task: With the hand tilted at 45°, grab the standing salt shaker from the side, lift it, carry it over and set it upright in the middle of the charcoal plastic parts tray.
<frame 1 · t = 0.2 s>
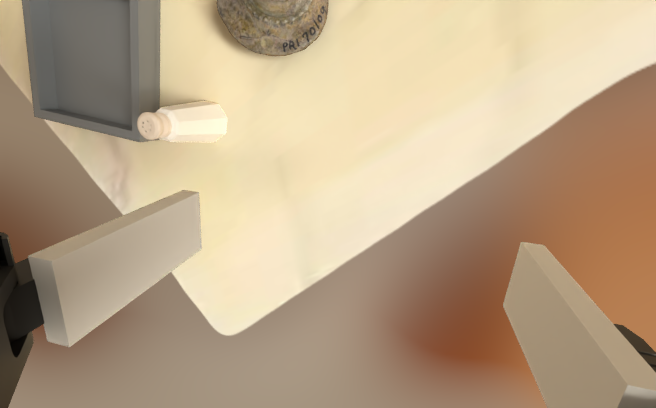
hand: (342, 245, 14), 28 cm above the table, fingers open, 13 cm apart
parts tray: (104, 61, 47), on the table
salt shaker: (211, 121, 45), on the table
fossilized seashell: (280, 10, 39), on the table
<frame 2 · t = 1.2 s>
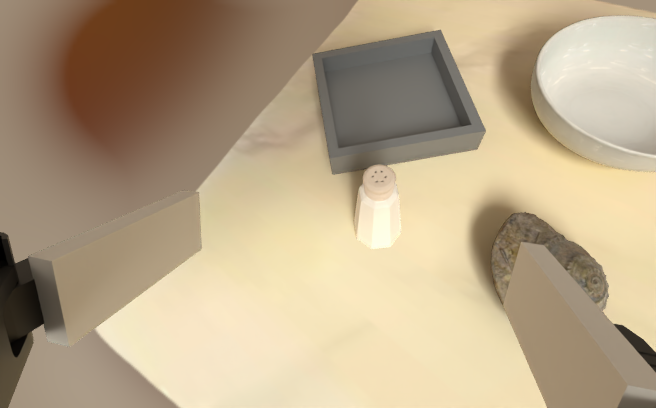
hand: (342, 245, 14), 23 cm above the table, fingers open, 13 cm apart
parts tray: (388, 107, 46), on the table
salt shaker: (377, 228, 39), on the table
fossilized seashell: (532, 278, 35), on the table
serving bowl: (604, 121, 42), on the table
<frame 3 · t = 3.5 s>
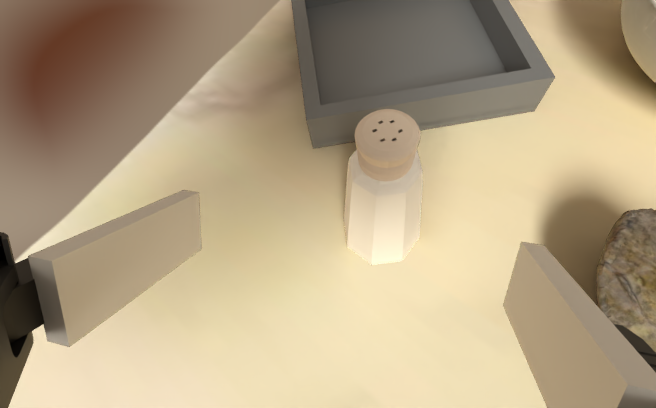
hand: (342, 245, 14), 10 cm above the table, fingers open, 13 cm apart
parts tray: (398, 55, 32), on the table
salt shaker: (380, 230, 24), on the table
fossilized seashell: (655, 323, 20), on the table
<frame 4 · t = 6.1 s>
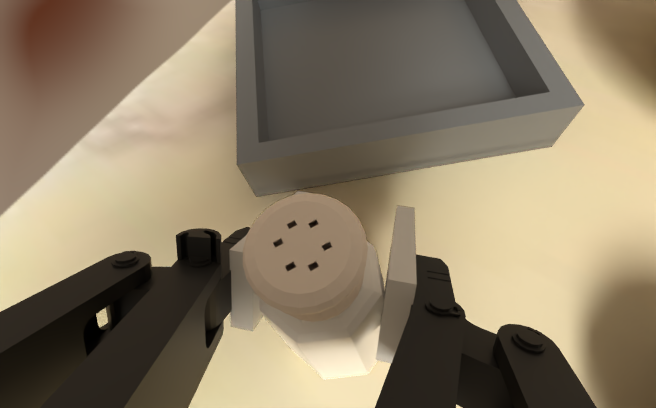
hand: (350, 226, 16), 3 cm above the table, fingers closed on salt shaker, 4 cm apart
parts tray: (373, 69, 25), on the table
salt shaker: (340, 321, 17), on the table, touching gripper
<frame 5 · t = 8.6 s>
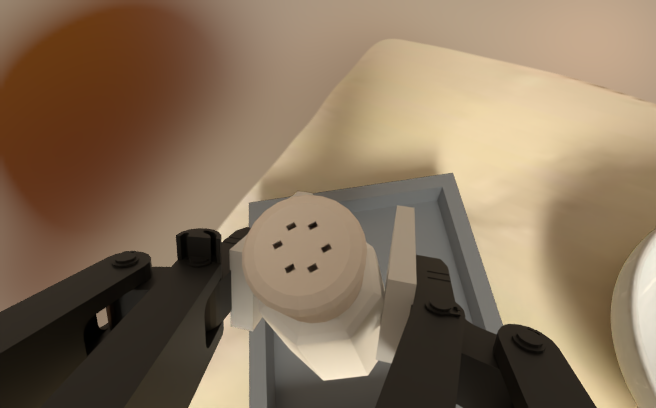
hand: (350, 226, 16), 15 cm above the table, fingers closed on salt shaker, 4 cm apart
parts tray: (366, 299, 29), on the table
salt shaker: (339, 322, 17), point 12 cm above the table, touching gripper
when the fingers open (6 cm above the table, at t = 11.3 s): salt shaker drops 1 cm, resting on parts tray.
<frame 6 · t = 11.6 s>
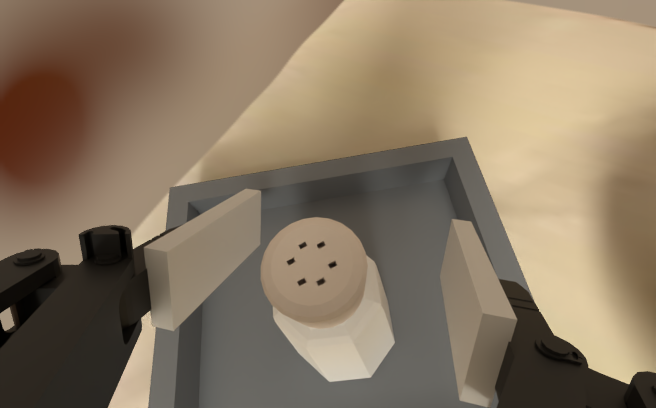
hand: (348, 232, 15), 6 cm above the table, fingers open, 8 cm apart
parts tray: (343, 327, 19), on the table
salt shaker: (344, 328, 18), point 1 cm above the table, touching parts tray
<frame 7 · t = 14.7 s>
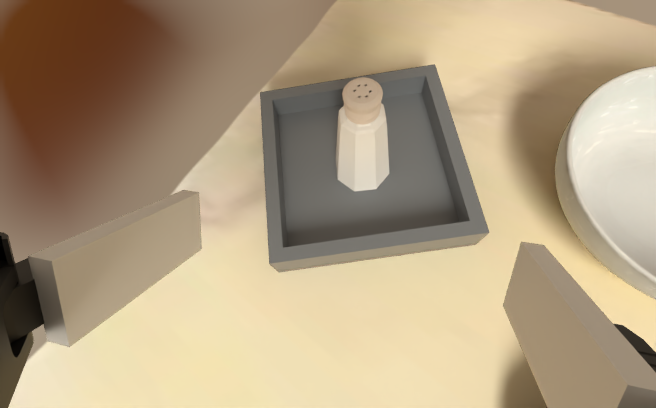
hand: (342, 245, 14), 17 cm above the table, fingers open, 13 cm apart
parts tray: (360, 171, 35), on the table
salt shaker: (362, 169, 34), point 1 cm above the table, touching parts tray
serving bowl: (649, 209, 31), on the table
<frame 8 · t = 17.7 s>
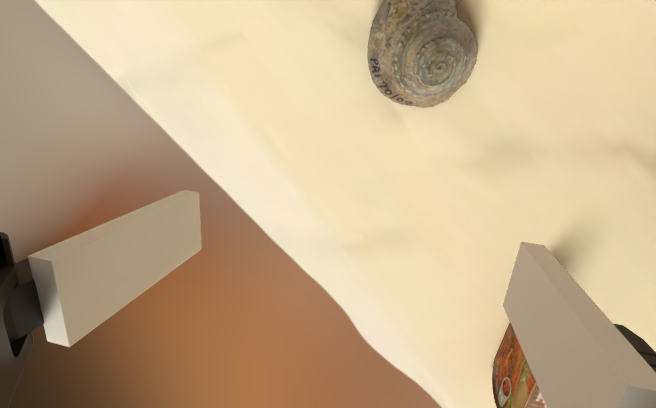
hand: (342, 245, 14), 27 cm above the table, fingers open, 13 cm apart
tin: (518, 334, 42), on the table
fossilized seashell: (422, 46, 35), on the table
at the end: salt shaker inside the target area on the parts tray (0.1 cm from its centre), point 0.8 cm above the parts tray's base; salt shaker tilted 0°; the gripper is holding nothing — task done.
